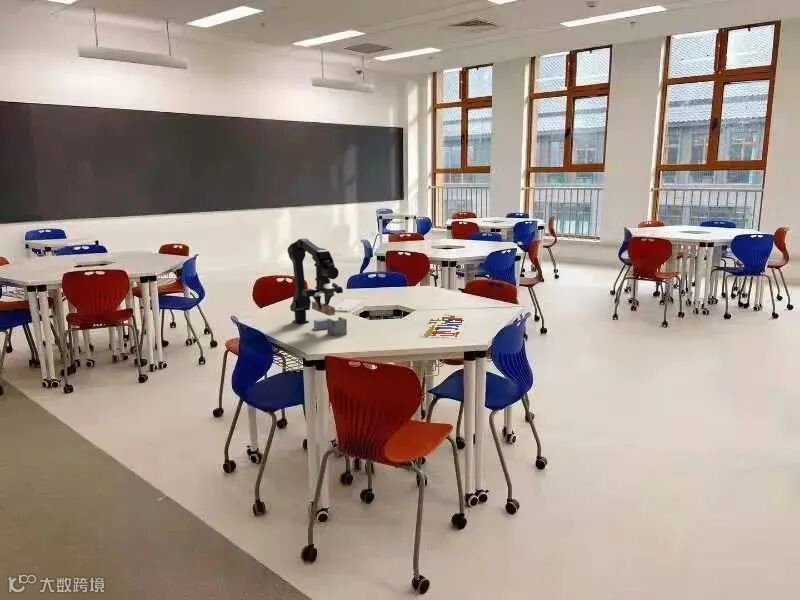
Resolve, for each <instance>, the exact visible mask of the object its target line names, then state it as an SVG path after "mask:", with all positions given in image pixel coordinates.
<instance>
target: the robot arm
mask: <svg viewBox="0 0 800 600" xmlns="http://www.w3.org/2000/svg"><path fill="white" fill-rule="evenodd" d="M306 252H307V253H308V254H310V255H311V258H312V260H313V261H314V262H315V263H314V264H313V266H314V267H315V278H314V281H315V282H316V285H315V286H314V288H315V289H312V288H306V283H305V281H306V280H305V271H304V264H303V263H304V259H305V258H306ZM287 253H288V254H287V255H288V258H289V259H290V260H291V262H292V266H293V267H292V269H293V275H294V276H293V277H294V278H293V279H294V286H295V287H294V288H295V289H294V290H295V292H294V294H293V296H292V302H291V304H290V306H289V308H290V311H291V312H293V313H294V320H292V321H293V322H292V323H294V322H295V323H294V324H296V323H297V325H300V324H299V323H301V324H307V323H310V321H309V320H307V311H310V309H311V305H312V301H311V297H312V298H313V299H314V301H316V303H317V306H318V308H319V309H320V310H321V303H322V302H321V298H322V295H321V294H323V296H324V304H327V305H329V306H330V301H331V299H332V297H334V296H336V294H343V292H344V289H343V287H342V286H339V285H338V283H337V282H332V283H331V280H335V279H337V278H338V277H339V270H338V268H337V267H335V266H336V265H335V263H334V259H333V256H332V254H331V252H330V251H329V250H328V249H327V248H324V247H323V248H322V247H318V246H317V245H316V244H315V243H313V242H312V241H310V239H308V238H299V239H297V240H296V241H295V242H293V243H290V244H289V246H288V247H287ZM335 293H336V294H335ZM306 322H307V323H306Z"/></svg>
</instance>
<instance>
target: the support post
mask: <svg viewBox="0 0 800 600" xmlns="http://www.w3.org/2000/svg"><path fill="white" fill-rule="evenodd" d="M327 319H331V320H333V319H332V318H329V317H326V318H325V317H324V318H319V319H313V329H315V328H316V330H317V329H319V330H324V329H323V328H326V329H327Z"/></svg>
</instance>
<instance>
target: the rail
mask: <svg viewBox="0 0 800 600" xmlns="http://www.w3.org/2000/svg"><path fill="white" fill-rule="evenodd" d="M335 307H336V306H332V305H330V304H329V305H327V304H325V302H321V310H320V309H319V308H318V306H317V303H316V301H315V300H314V301H311V309H312V310H314V311H316V312H319V313H322V314H324V315H326V316H329V317H331V316H335V315H336V312H335Z"/></svg>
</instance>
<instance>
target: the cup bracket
mask: <svg viewBox="0 0 800 600" xmlns="http://www.w3.org/2000/svg"><path fill="white" fill-rule="evenodd" d="M331 319H332V318H330V319H327V328H326V329H327V335H330V334H331V335H330V336H332V335H333V337H337V336H342V335H341V334H343V335H347V334H348V330H347V329H348V327H347V326H348V324H347V321H348V320H347V318H344V317H341V316H339V317H338V319H336V320H334V319H332V320H331ZM336 335H337V336H336Z"/></svg>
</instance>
